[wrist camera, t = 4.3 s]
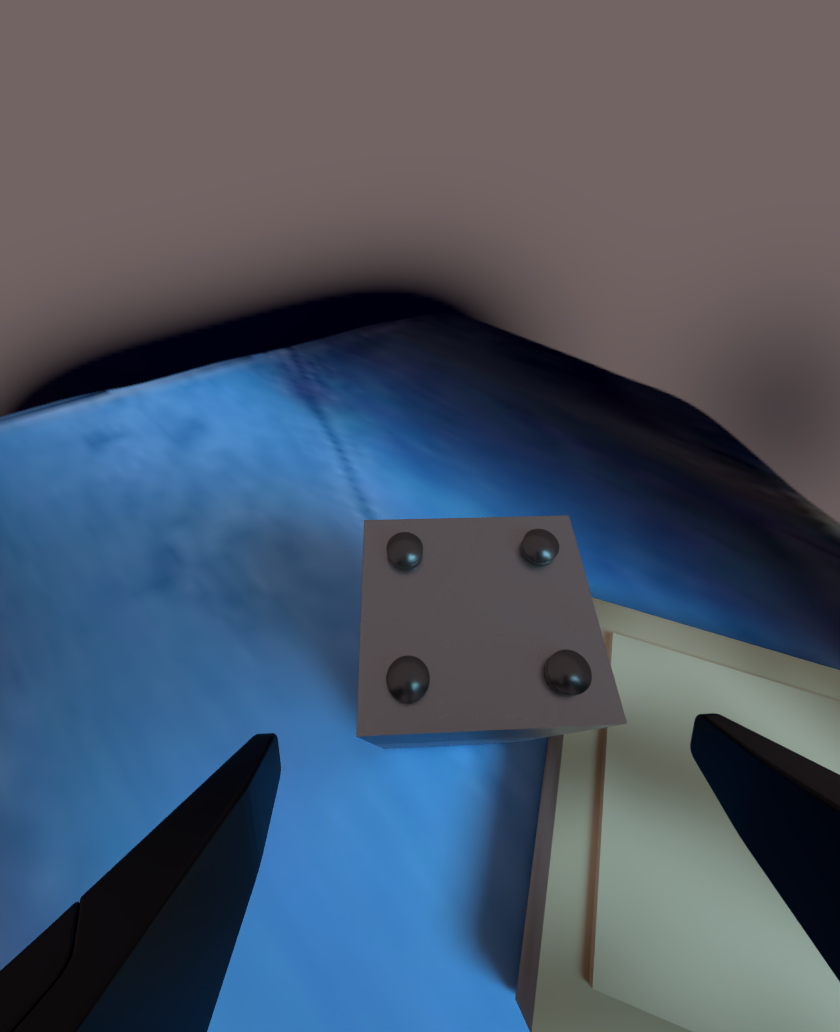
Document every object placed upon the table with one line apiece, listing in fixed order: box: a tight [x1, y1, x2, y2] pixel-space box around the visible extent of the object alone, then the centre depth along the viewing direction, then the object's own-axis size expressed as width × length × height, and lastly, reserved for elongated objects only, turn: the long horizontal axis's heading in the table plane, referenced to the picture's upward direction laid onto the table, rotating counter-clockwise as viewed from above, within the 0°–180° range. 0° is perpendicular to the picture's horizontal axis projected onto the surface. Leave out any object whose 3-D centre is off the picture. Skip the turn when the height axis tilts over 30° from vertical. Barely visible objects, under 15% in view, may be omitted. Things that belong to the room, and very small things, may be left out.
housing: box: [356, 516, 627, 749], centre depth 14 cm, size 5×6×11 cm
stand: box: [515, 598, 840, 1032], centre depth 15 cm, size 14×14×2 cm
